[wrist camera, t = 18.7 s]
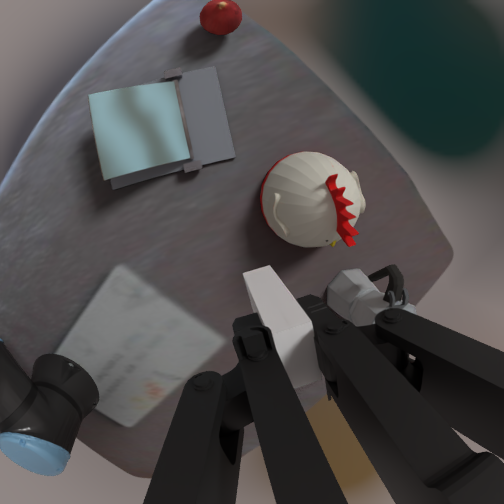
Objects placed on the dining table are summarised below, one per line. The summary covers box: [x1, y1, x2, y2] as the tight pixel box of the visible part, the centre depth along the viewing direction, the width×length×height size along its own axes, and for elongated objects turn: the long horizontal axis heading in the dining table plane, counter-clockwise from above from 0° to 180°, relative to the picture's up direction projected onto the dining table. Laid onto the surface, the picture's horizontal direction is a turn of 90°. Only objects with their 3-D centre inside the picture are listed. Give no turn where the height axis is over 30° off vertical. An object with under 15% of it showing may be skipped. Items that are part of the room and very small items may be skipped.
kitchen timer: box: [260, 152, 365, 247], centre depth 37 cm, size 14×14×15 cm
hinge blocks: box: [164, 67, 202, 173], centre depth 38 cm, size 2×15×1 cm, turn 12°
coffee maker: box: [327, 264, 417, 326], centre depth 41 cm, size 15×9×18 cm, turn 3°
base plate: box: [110, 66, 235, 190], centre depth 38 cm, size 18×14×1 cm
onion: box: [200, 0, 242, 35], centre depth 32 cm, size 6×6×8 cm
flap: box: [88, 80, 194, 181], centre depth 35 cm, size 13×12×1 cm
